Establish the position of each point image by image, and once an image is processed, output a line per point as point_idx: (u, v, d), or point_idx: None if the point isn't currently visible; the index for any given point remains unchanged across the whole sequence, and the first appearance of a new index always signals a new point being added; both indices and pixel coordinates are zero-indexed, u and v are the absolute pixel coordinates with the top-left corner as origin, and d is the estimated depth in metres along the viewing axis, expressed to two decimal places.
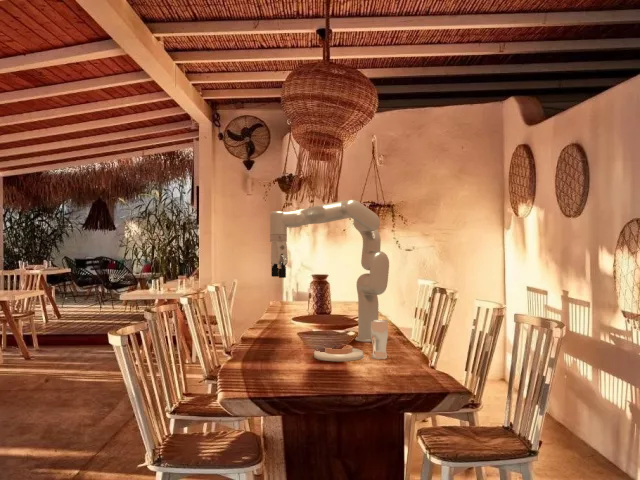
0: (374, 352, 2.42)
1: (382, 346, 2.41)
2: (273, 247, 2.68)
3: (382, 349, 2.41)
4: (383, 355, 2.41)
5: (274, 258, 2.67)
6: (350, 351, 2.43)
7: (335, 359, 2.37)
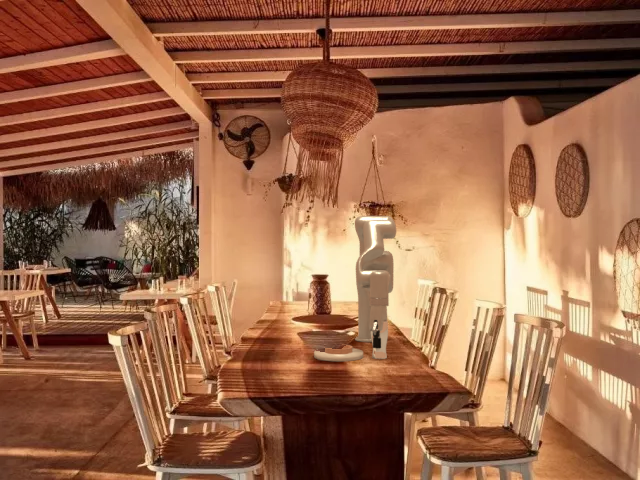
0: (374, 352, 2.42)
1: (382, 346, 2.41)
2: (385, 311, 2.43)
3: (382, 349, 2.41)
4: (383, 355, 2.41)
5: None
6: (350, 351, 2.43)
7: (335, 359, 2.37)
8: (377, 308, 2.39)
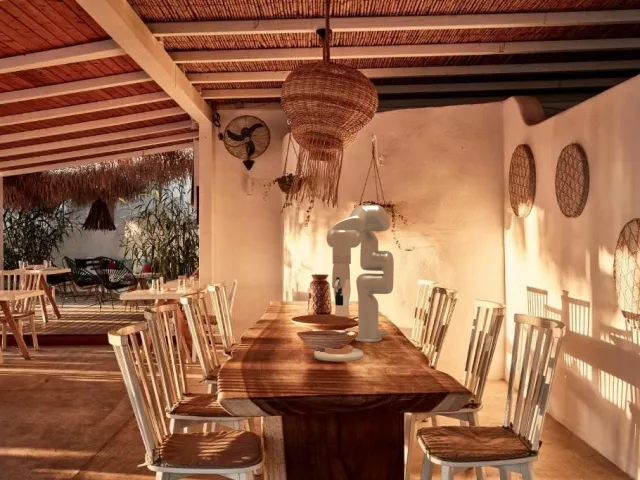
0: (337, 310, 2.45)
1: (344, 304, 2.44)
2: (347, 269, 2.46)
3: (345, 306, 2.44)
4: (345, 312, 2.44)
5: None
6: (350, 351, 2.43)
7: (335, 359, 2.37)
8: (339, 265, 2.42)
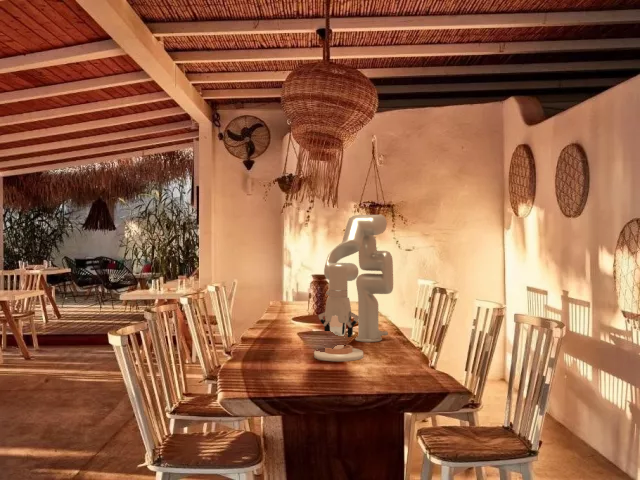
0: (341, 346, 2.45)
1: None
2: None
3: None
4: None
5: None
6: (350, 351, 2.43)
7: (335, 359, 2.37)
8: None
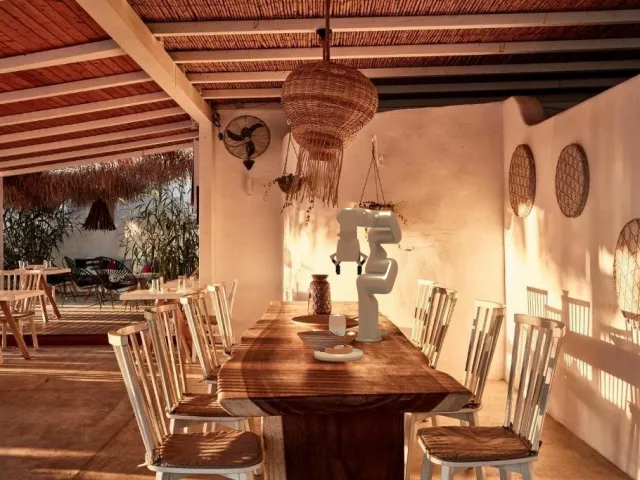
0: (341, 346, 2.45)
1: None
2: None
3: None
4: None
5: None
6: (350, 351, 2.43)
7: (335, 359, 2.37)
8: (358, 240, 2.64)
